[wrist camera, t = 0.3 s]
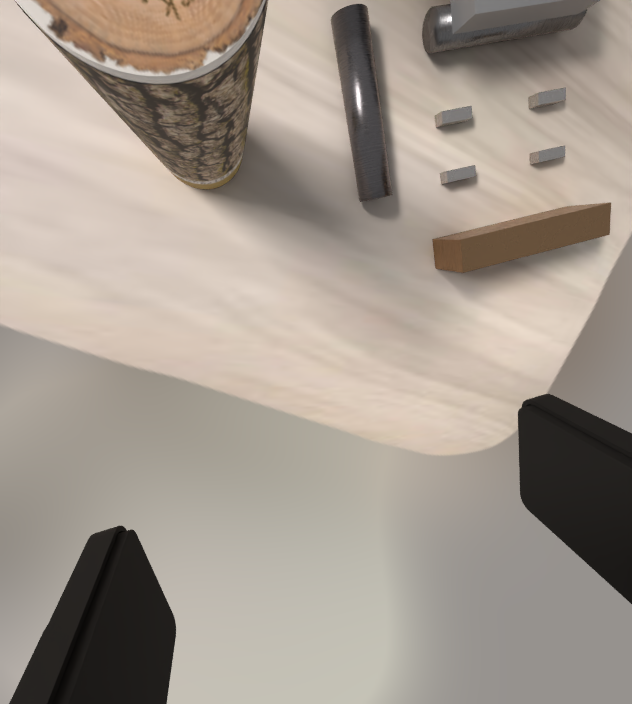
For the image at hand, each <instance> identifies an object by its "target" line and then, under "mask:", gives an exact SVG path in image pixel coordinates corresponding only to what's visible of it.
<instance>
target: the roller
mask: <svg viewBox="0 0 632 704" xmlns="http://www.w3.org/2000/svg"><path fill="white" fill-rule="evenodd" d="M331 25H332V31H333V37H334V44H335V50H336V56H337V62H338V69H339V75H340V81H341V87H342V94H343V100H344V106H345V112H346V119H347V125H348V131H349V137H350V144H351V150H352V156H353V162H354V168H355V175H356V181H357V187H358V193H359V200H360V202H363V201H368V200H372V199H377V198H381V197H385V196H390V195H392V189H391V182H390V174H389V166H388V159H387V151H386V144H385V136H384V129H383V121H382V114H381V106H380V99H379V91H378V83H377V76H376V68H375V61H374V53H373V46H372V38H371V31H370V23H369V15H368V8H367V6H365V5H363V4H354V5H350V6H347V7H344V8H342V9H340V10H339V11H337V12H336V13H335V14H334V15H333V16H332V18H331Z"/></svg>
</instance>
